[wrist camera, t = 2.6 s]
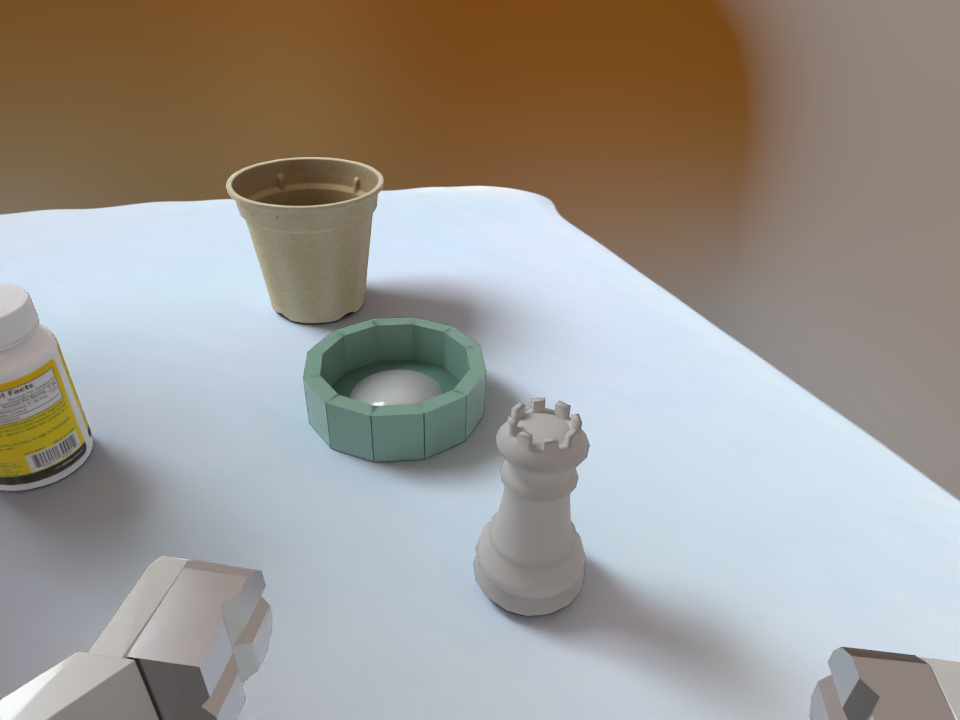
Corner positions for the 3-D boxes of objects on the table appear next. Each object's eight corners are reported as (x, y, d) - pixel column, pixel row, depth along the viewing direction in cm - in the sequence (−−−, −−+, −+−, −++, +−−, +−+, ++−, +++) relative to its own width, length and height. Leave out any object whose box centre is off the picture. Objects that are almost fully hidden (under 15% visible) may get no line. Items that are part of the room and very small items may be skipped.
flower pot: (411, 319, 45) (408, 192, 40) (267, 352, 41) (245, 215, 36) (361, 264, 51) (353, 150, 47) (234, 288, 47) (212, 166, 43)
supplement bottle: (6, 431, 34) (-62, 279, 29) (107, 424, 34) (57, 275, 30) (-39, 499, 30) (-126, 336, 25) (76, 490, 30) (12, 329, 26)
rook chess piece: (467, 617, 26) (472, 456, 21) (478, 529, 29) (485, 377, 25) (585, 629, 25) (615, 469, 21) (581, 539, 29) (606, 387, 25)
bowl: (302, 466, 32) (295, 420, 31) (317, 361, 40) (312, 320, 38) (492, 455, 33) (495, 409, 32) (471, 355, 41) (473, 315, 39)
